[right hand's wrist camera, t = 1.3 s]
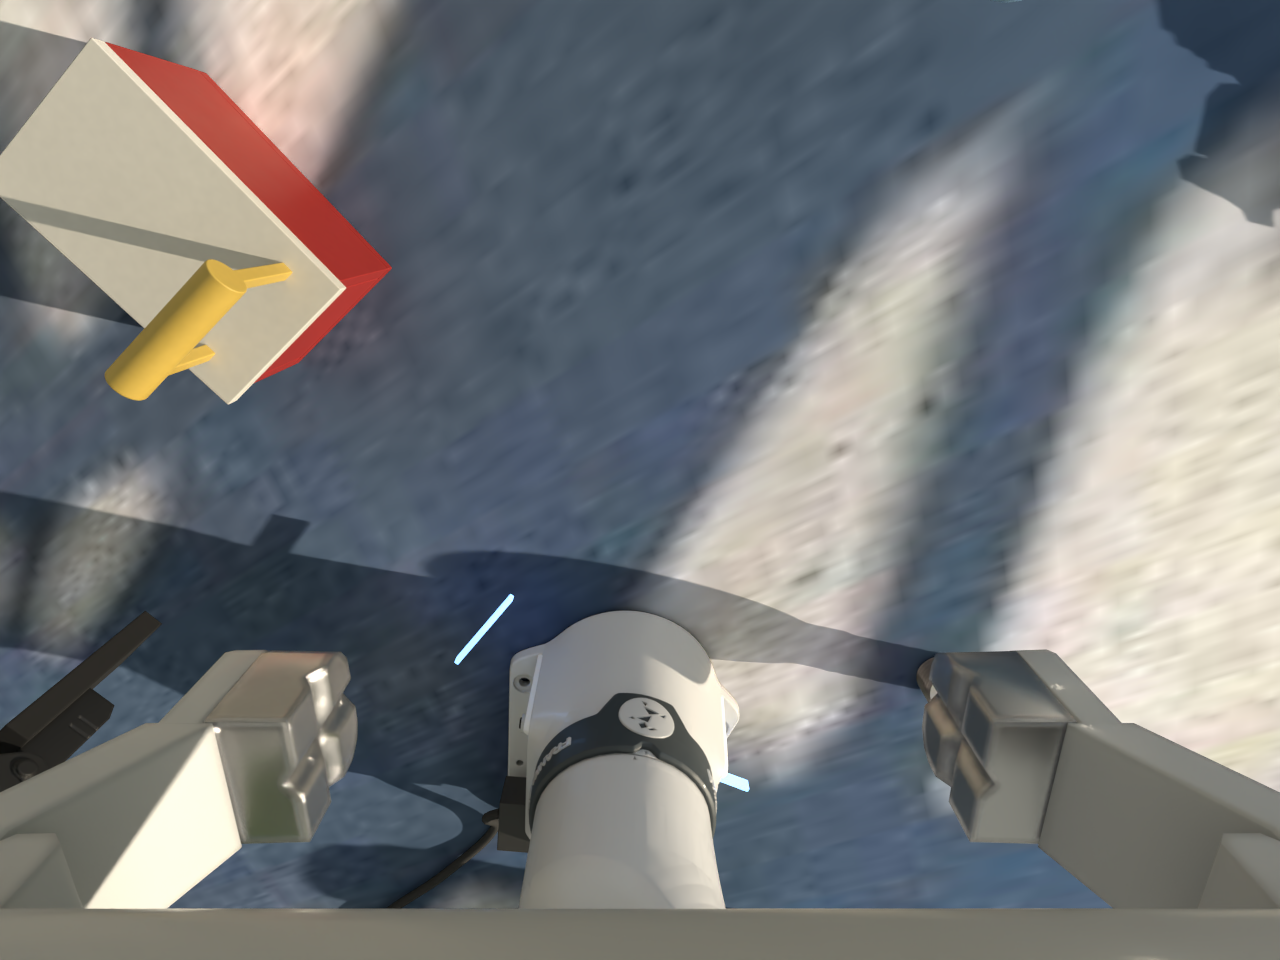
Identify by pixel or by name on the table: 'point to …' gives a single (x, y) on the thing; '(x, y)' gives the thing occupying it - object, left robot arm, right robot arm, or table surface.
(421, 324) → the table surface
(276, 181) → the chest
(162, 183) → the lid
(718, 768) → the right robot arm
